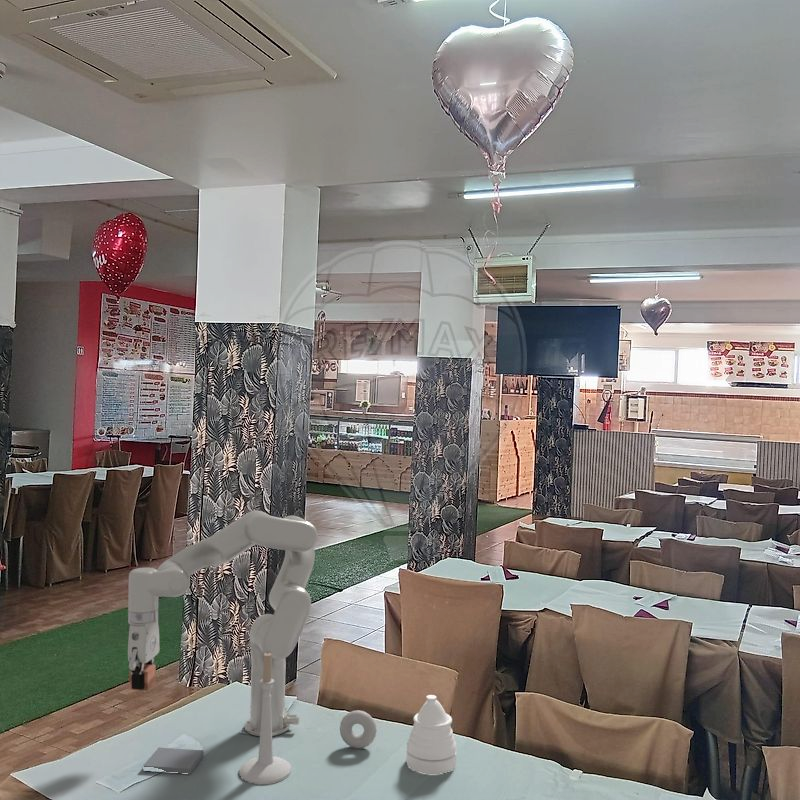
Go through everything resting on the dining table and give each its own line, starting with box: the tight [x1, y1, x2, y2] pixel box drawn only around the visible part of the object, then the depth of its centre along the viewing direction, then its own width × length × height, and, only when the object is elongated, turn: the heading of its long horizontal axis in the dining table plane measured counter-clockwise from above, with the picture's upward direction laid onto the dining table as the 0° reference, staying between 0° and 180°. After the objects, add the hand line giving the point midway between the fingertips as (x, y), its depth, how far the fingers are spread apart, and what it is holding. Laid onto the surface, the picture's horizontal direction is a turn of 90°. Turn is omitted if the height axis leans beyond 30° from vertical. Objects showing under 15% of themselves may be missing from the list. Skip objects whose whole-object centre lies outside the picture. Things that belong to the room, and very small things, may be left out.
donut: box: [339, 709, 377, 750], centre depth 212 cm, size 10×4×10 cm, turn 82°
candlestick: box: [238, 652, 292, 786], centre depth 198 cm, size 13×13×30 cm
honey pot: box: [405, 694, 457, 774], centre depth 204 cm, size 13×13×18 cm
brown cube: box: [128, 664, 157, 692], centre depth 208 cm, size 5×5×5 cm
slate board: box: [142, 747, 204, 775], centre depth 201 cm, size 12×10×2 cm
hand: (142, 683), depth 208 cm, fingers closed on brown cube, 5 cm apart
